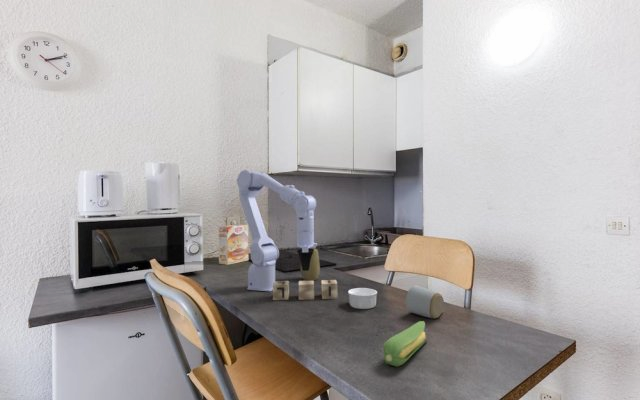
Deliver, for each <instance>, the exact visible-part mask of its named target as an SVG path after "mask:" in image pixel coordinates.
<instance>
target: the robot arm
mask: <svg viewBox="0 0 640 400" xmlns="http://www.w3.org/2000/svg"><path fill="white" fill-rule="evenodd" d="M237 176H238V177H237V178H236V184H237V187H238V190H239V192H238V193H239V195H238V197H239V201H240V203H241V207H242V210H243V213H244V216H245V220H246V223H247V225H248V230H249V232H250V234H251V238H252V241H253V242H252V243H251V244H250V245H249V249H250V259H251V261H252V263H251V264H250V266H249V267H248V271H247V288H246V289H247V290H249V291H261V292H273V283H274V281H276V264H277V260H278V259H279V256H280V251H279V248H278V247H277V245H276V244H275V241H274V240H273V239H272V238H271V237H269V236H268V234H267V233H268V232H267V231H266V228H265V227H266V226H265V224H264V221H263V219H262V216H261V212H260V209H259V206H258V202H257V199H256V197H257V195H258V194H259V193H260V192H261V190H262V189H263V188H264V187H265V188H267V189H269V190H271V191H273V192H275V193H277V194H278V195H279V198H280V200H281V201H284V202H285V203H287V204H289V205H290V206H291V207H293V209H294V211H295V213H296V214H295V215H296V247H298V248H299V249H297V250H296V252H297V254H298V256H299V261H300V267H301V266H302V270H303V271H309V267H310V260H311V257H312V254H313V252H314V249H313V248H310V247H313V246H316V247H318V243H317V242H314V241H315V236H314V235H315V234H314V233H315V228H314V227H315V225H314V224H315V221H314V219H315V214H314V213H315V209H316V208H317V205H318V203H317V200H316V198H315V197H314V195H312V194H311V195H310V194H307V195H306V193H305V191H301V190H298V189H297V188H296V186H295V185H293V184H290V185H289V184H287V185H283V184H281V183H280V181H278V180H276V179H274V178H272V177H271V176H270V175H269V174H267V173H264V172H263V171H254V170H247V169H242V170H241V171H240V172H239V173H238V175H237Z"/></svg>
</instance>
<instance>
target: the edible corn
mask: <svg viewBox="0 0 640 400" xmlns="http://www.w3.org/2000/svg"><path fill="white" fill-rule="evenodd" d="M425 327H426V323H425V321H424V320H423V321H421V320H419V321H417V322H415V323H414V324H412V325H411V326H410V327H408V328H406V329H404V330H403V331H401V332H398V333H397V334H395V335H393V336H391V337H389V339H388V340H386V341H385V342H384V343H383V345H382V347H383V348H382V352H383V357H384V361H385V363H386V364H387V365H390V366H394V367H397V368H398V367H400V366H402V365H404V364H405V363H406V362H407V361H408V360H409V359H410V358H411V357H412V356H413V355H414V354H415V353H416V352H417V351H418V350H419V349H420V348H421V347H422V346H423V345H424V344H425V343H426V342H427V340H426V338H427V336H426V332H425V331H424V330H425Z"/></svg>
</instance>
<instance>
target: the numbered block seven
mask: <svg viewBox="0 0 640 400" xmlns="http://www.w3.org/2000/svg"><path fill="white" fill-rule="evenodd" d="M289 299H290V281H289V280H275V281H274V283H273V290H272V300H273V301H288V300H289Z"/></svg>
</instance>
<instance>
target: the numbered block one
mask: <svg viewBox="0 0 640 400" xmlns="http://www.w3.org/2000/svg"><path fill="white" fill-rule="evenodd" d="M321 299H322V300H326V299H327V300H332V299H333V300H334V299H338V281H337V279H321Z"/></svg>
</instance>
